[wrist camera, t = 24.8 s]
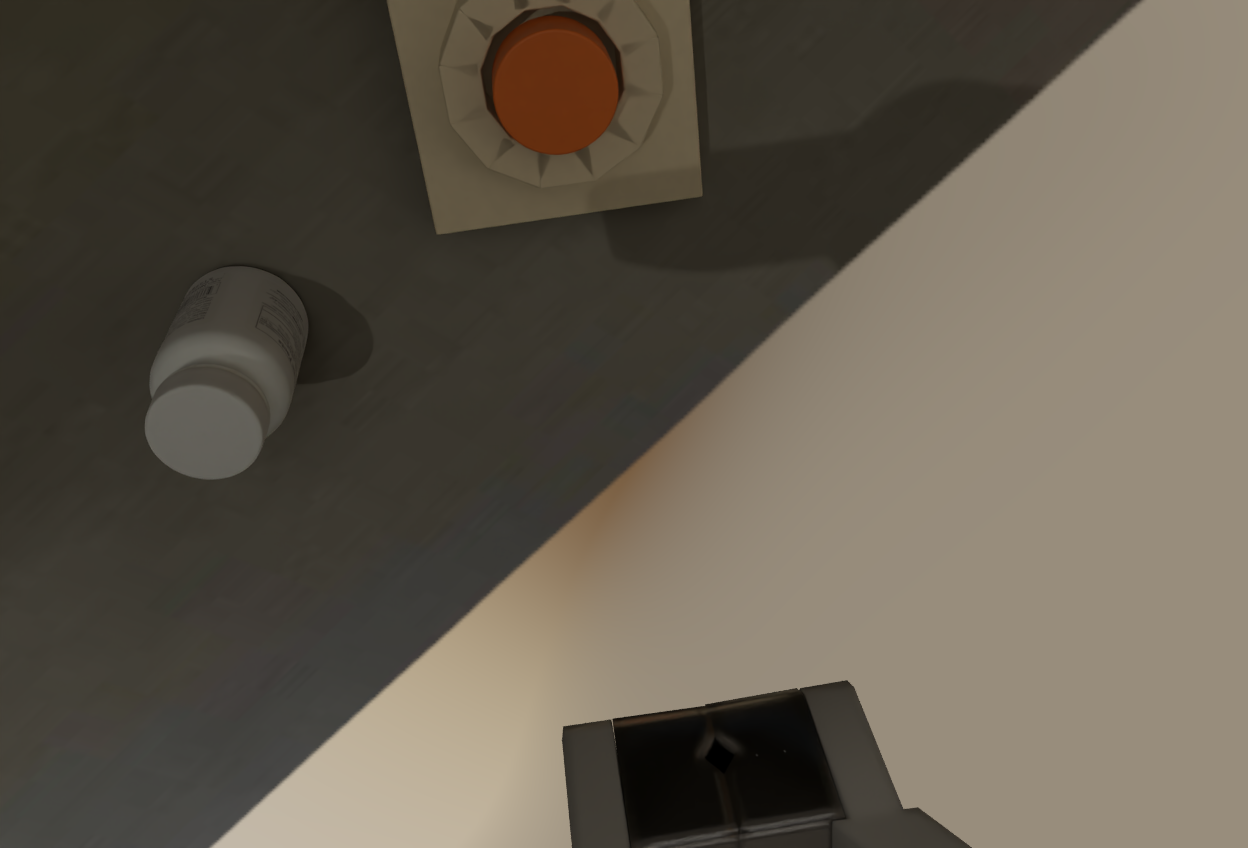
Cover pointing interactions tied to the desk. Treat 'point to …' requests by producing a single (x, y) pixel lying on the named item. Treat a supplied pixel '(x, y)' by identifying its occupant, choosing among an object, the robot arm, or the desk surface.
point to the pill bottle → (225, 372)
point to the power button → (554, 85)
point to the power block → (519, 177)
